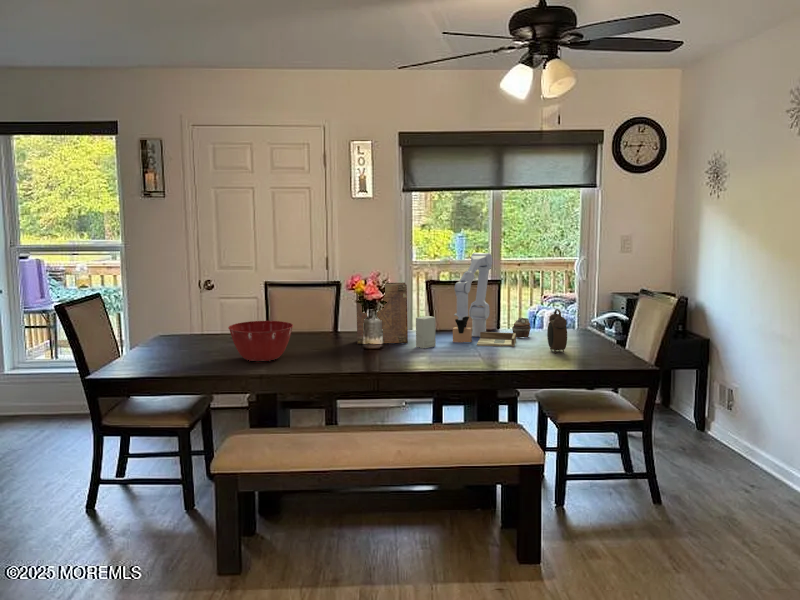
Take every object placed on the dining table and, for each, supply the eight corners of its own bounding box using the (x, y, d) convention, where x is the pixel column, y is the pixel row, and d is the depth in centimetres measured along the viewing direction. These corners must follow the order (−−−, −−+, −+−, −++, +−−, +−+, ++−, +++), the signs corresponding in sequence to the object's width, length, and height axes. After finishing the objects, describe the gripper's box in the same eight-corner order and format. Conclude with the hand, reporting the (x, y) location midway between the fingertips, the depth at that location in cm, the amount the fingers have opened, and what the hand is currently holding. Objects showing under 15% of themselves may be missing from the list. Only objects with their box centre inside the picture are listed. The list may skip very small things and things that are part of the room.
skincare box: (428, 344, 319) (427, 315, 317) (436, 346, 315) (436, 316, 313) (415, 347, 314) (415, 317, 312) (423, 349, 309) (423, 318, 307)
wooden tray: (480, 339, 332) (480, 331, 331) (515, 340, 328) (516, 333, 327) (476, 345, 316) (476, 337, 316) (513, 346, 312) (514, 338, 312)
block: (454, 340, 330) (454, 327, 329) (471, 341, 328) (471, 327, 327) (452, 342, 326) (452, 328, 325) (470, 342, 324) (470, 329, 323)
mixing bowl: (306, 358, 291) (305, 325, 289) (252, 369, 271) (250, 333, 269) (271, 350, 310) (270, 318, 308) (217, 359, 290) (216, 325, 288)
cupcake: (516, 334, 345) (516, 316, 344) (533, 336, 340) (533, 317, 338) (508, 337, 338) (508, 318, 336) (525, 339, 332) (526, 319, 331)
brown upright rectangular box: (406, 340, 332) (405, 282, 328) (407, 343, 323) (407, 284, 319) (357, 341, 330) (356, 283, 327) (357, 344, 321) (356, 285, 317)
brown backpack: (544, 348, 307) (545, 307, 304) (560, 348, 307) (560, 307, 304) (552, 355, 292) (553, 311, 290) (568, 355, 293) (569, 311, 290)
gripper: (456, 303, 333) (456, 329, 334) (452, 307, 319) (452, 334, 320) (470, 303, 331) (470, 329, 333) (466, 307, 317) (466, 334, 319)
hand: (462, 332), depth 326 cm, fingers open, 7 cm apart
